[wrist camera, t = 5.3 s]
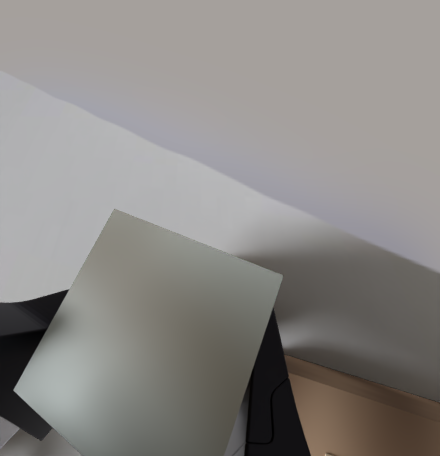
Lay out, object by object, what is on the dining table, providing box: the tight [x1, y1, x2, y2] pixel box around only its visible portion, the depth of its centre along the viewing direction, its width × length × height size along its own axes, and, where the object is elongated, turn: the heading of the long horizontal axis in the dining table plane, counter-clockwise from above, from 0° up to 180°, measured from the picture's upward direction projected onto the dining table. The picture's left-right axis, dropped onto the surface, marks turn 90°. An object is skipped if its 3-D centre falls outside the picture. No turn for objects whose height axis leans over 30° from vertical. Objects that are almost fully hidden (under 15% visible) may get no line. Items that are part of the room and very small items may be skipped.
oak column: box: [13, 209, 284, 456], centre depth 10 cm, size 5×5×12 cm
